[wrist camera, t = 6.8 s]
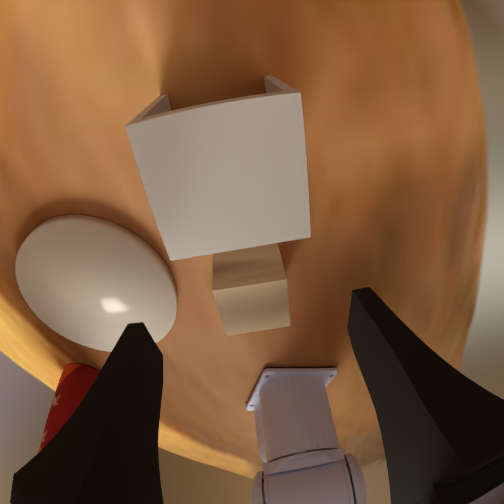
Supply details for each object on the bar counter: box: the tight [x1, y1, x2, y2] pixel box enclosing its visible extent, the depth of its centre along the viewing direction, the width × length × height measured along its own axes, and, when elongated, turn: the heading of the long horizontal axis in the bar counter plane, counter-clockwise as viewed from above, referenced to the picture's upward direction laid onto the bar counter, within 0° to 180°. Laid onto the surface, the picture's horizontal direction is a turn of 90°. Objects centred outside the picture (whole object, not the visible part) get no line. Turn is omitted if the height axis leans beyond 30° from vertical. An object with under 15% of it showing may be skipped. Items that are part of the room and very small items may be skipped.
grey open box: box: [126, 75, 311, 261], centre depth 13 cm, size 6×6×6 cm
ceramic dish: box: [15, 215, 177, 352], centre depth 21 cm, size 13×13×1 cm
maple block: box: [212, 243, 290, 335], centre depth 19 cm, size 4×4×4 cm
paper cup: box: [38, 363, 100, 453], centre depth 23 cm, size 8×8×14 cm
